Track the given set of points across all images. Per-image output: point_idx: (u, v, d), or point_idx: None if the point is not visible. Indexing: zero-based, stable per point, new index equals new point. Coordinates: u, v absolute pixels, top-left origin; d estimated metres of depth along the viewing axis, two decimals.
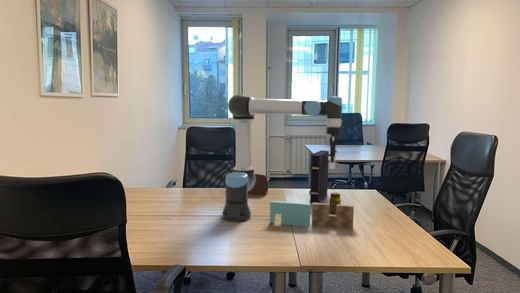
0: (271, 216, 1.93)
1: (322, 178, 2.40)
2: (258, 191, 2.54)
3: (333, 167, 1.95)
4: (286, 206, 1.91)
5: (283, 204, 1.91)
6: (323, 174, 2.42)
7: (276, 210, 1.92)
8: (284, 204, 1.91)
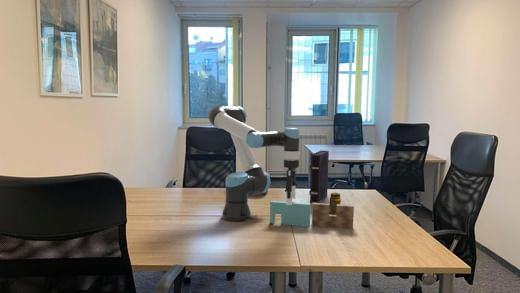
0: (271, 216, 1.93)
1: (322, 178, 2.40)
2: None
3: (290, 203, 1.84)
4: (286, 206, 1.91)
5: (283, 204, 1.91)
6: (323, 174, 2.42)
7: (276, 210, 1.92)
8: (284, 204, 1.91)
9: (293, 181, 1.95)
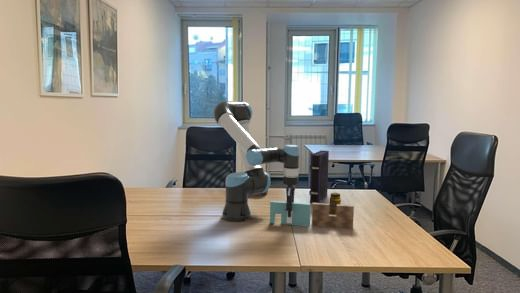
0: (271, 216, 1.93)
1: (322, 178, 2.40)
2: None
3: (290, 221, 1.90)
4: None
5: (283, 204, 1.91)
6: (323, 174, 2.42)
7: (276, 210, 1.92)
8: (284, 204, 1.91)
9: (291, 201, 1.93)
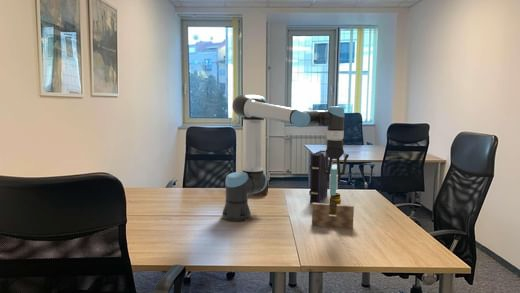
0: None
1: (322, 178, 2.40)
2: None
3: (329, 187, 1.82)
4: None
5: None
6: (323, 174, 2.42)
7: None
8: None
9: (337, 167, 1.80)
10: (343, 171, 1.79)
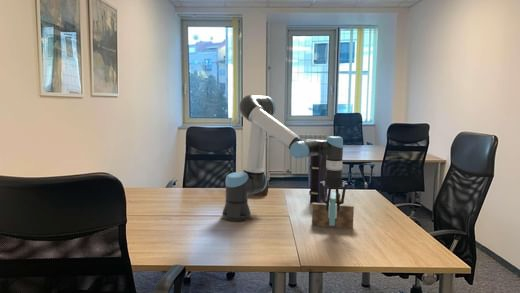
0: None
1: (322, 178, 2.40)
2: None
3: (328, 216, 1.83)
4: None
5: None
6: (323, 174, 2.42)
7: None
8: None
9: None
10: (342, 200, 1.81)
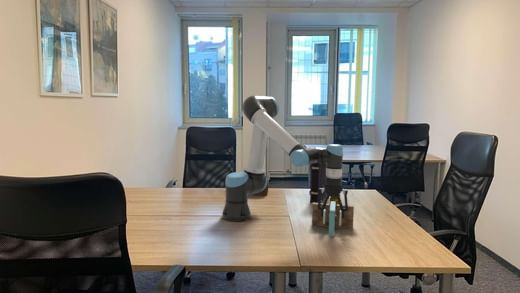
0: None
1: (322, 178, 2.40)
2: (259, 192, 2.53)
3: (323, 222, 1.84)
4: None
5: (330, 206, 1.86)
6: (323, 174, 2.42)
7: None
8: (330, 206, 1.86)
9: (339, 204, 1.82)
10: (346, 207, 1.81)
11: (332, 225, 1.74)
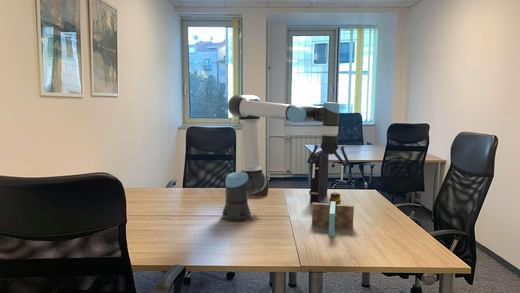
0: None
1: (322, 178, 2.40)
2: (259, 192, 2.53)
3: None
4: None
5: (330, 206, 1.86)
6: (323, 174, 2.42)
7: None
8: (330, 206, 1.86)
9: (339, 160, 1.82)
10: (347, 162, 1.81)
11: (332, 225, 1.74)
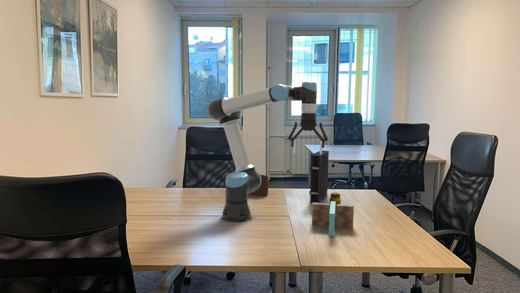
0: None
1: (322, 178, 2.40)
2: (259, 192, 2.53)
3: None
4: None
5: (330, 206, 1.86)
6: (323, 174, 2.42)
7: None
8: (330, 206, 1.86)
9: (318, 136, 1.94)
10: (325, 138, 1.93)
11: (332, 225, 1.74)
